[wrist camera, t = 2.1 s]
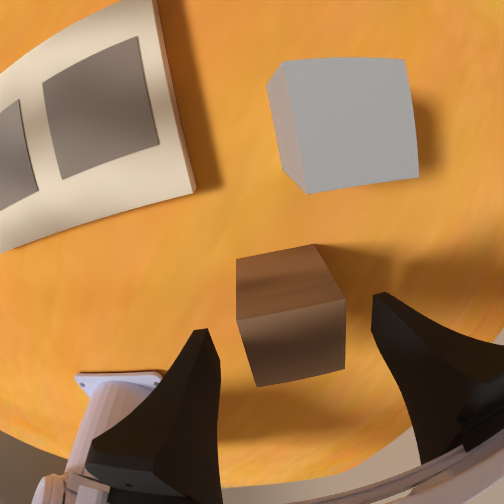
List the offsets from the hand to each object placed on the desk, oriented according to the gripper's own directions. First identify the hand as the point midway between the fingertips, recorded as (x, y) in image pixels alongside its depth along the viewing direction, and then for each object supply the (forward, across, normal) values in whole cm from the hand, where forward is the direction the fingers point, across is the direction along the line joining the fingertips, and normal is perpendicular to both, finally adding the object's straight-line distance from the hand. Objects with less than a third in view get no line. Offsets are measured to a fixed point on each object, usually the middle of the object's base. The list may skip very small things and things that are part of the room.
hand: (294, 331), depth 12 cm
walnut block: (+4, 0, 0) cm, 4 cm away
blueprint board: (+4, +10, -11) cm, 15 cm away
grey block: (+4, -3, -8) cm, 9 cm away
